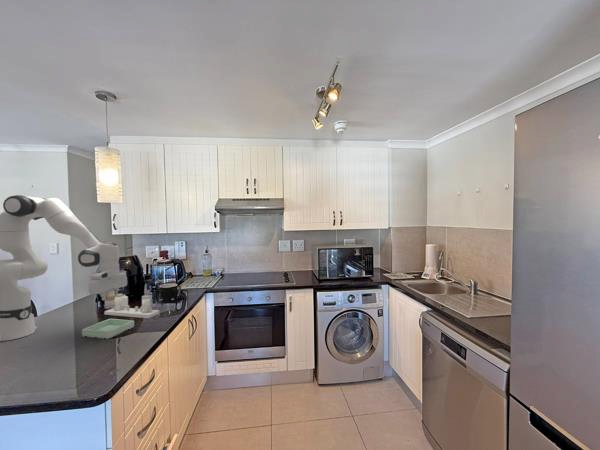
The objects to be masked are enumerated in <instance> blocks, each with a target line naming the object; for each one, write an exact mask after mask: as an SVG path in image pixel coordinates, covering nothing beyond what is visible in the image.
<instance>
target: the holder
mask: <svg viewBox="0 0 600 450" xmlns="http://www.w3.org/2000/svg"><path fill="white" fill-rule="evenodd" d="M114 308H115V307H113V308H109V309H107V310H104V315H105V316H106V315H107V316H116V317H128V318H129V317H130V318H139V319H140V318H141V319H151V318H152V317H155V316H158V315H159V314H160V310H158V309H153V307H152V306H150V308H149V313H142V306H140V307H139V306H137V305H136V306H134V308H133V307H130V305H128V306H126V307H125V305H122V306H121V310H120V311H114Z"/></svg>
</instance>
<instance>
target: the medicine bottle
mask: <svg viewBox="0 0 600 450" xmlns="http://www.w3.org/2000/svg"><path fill="white" fill-rule="evenodd" d="M119 293H123V305H125V308H126V306H129V296H127V295H126V289H123V288H119V291H118V293H117V294H119Z"/></svg>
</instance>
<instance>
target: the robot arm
mask: <svg viewBox="0 0 600 450" xmlns="http://www.w3.org/2000/svg"><path fill="white" fill-rule="evenodd" d="M2 206H3V207H2V208H3V211H2V212H0V250H1V251H3V252H6V253H9V254H10V255H12V257H13V258H12V259H11V258H10V259H2V260H1V259H0V342H5V341H11V340H12V341H13V340H17V339H20V338H23V337H27V336H30V335H32V334H34V333H36V330H37V329H38V326H37V325H36V321H35V315H34V314H33V313H32V312H33V306H32V303H31V300H32V294H31V293H32V292H31V291H30V290H29V288H27V287H25V286H20V285H18V281H22V280H26V279H32V278H37V277H39V276H43V275H44V274H45V273H46V272H47V270H48V267H49V266H48V262H47V260H46V259H44V258H42V257H40V256H39V255H37V254H36V252H34V250H33V248H32V246H31V240H30V228H29V226H30V225H29V224H30V221H32V220H33V221H37V220H40V219H45V220H46V222H47V223H48V225H49V226H50V227H51V228H52V229H53V230H54V231H55V232H57V233H59V234H62V235H66V236H71V237H75V238H77V239H79V240H80V241H82V243H83V244H84V245H85V246H86V247H87V248H85V249H83V250H81V251H80V252H79V254H78V256H77V262H78V264H79V265H80V266H82V267H84V268H91V267H98V269H97V270H96V271H94V272H92V273H90V274H89V276H88V277H89V279H90V280H89V282H88V293H89V294H90V295H98V294H99V296H100V297H101V301H105V300H107V296H105V292H106V291H109V290H110V289H112V288H115V297H117V293H118V291H119V289H121V288H123V287H127V286H128V276H127V271H125V270H124V269H121V270H120V264H119V263H120V261H119V260H120V248H119V245H118V244H117V243H115V242H112V241H101V240H99V238H98V237H97V236H96V235H95V234H94V233H93V232H92V231H91V230H90V229H89V228H88V227H87V226H86V225H85V224H84V223H82V222H81V221H80V219H78V217H77V216H76V215H75V214H74V212H73V211H72V210H71V209H70V208H69V207H68V206H67V205H66V204H65V203H64V202H63V201H62V200H61V199H59V198H57V197H48V198H43V197H39V196H33V195H30V196H29V195H21V194H19V195H18V194H17V195H12V196H11V195H10V196H8V197H6V198H5V200H4V201H3V203H2Z"/></svg>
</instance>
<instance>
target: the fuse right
mask: <svg viewBox="0 0 600 450" xmlns="http://www.w3.org/2000/svg"><path fill="white" fill-rule="evenodd" d="M141 307H142V313H149V308H150V307H151V295H149V294H144V295H142V296H141Z"/></svg>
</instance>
